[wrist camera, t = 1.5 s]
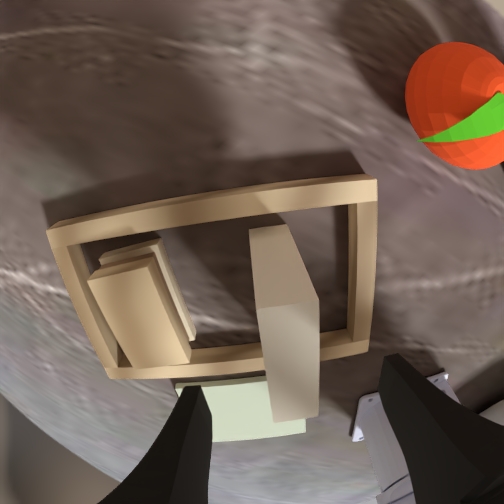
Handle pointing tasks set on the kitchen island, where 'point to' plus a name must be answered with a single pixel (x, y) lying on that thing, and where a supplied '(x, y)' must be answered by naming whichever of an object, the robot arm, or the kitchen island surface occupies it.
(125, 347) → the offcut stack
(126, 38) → the kitchen island surface
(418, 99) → the clementine
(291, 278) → the cream rectangular block
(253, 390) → the sage mat
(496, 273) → the kitchen island surface
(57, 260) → the wooden rectangular frame
